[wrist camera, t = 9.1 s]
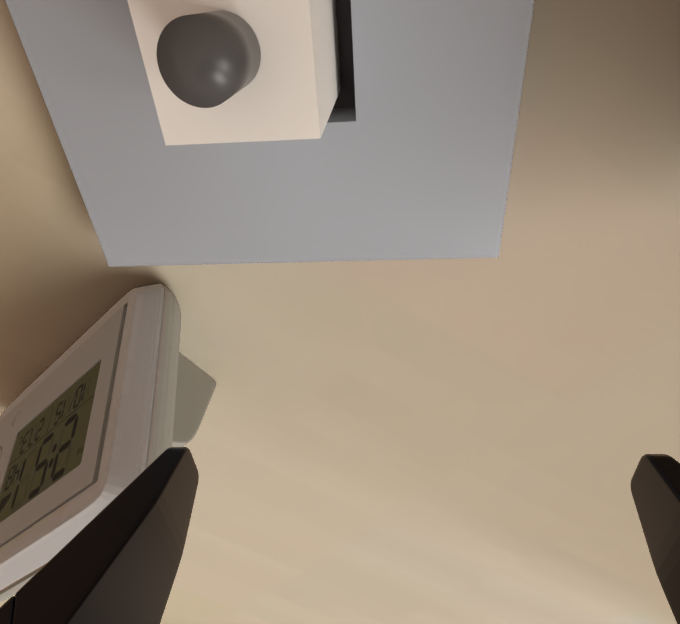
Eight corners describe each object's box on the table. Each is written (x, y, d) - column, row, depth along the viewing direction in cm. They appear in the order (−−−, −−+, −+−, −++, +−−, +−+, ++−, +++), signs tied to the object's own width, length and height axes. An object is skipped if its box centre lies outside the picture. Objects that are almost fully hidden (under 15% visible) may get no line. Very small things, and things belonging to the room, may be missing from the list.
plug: (333, -47, 15) (287, -80, 8) (340, 88, 17) (310, 163, 10) (212, -38, 16) (59, -59, 8) (235, 94, 18) (131, 171, 10)
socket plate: (559, -382, 11) (598, -465, 9) (486, 230, 20) (498, 257, 18) (-48, -290, 13) (-129, -343, 11) (134, 240, 22) (109, 266, 20)
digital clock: (172, 260, 23) (39, 433, 14) (277, 384, 27) (227, 578, 18) (-31, 372, 28) (-218, 547, 19) (83, 461, 32) (-29, 638, 23)
